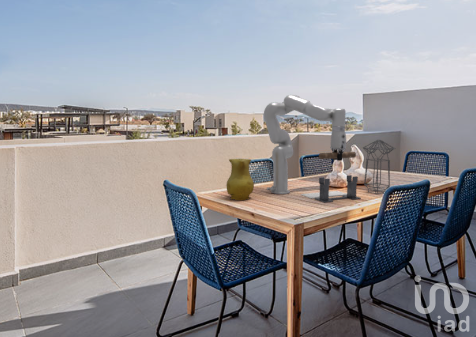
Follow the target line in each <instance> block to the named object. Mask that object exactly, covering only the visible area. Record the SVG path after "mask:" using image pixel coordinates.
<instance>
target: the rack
mask: <svg viewBox="0 0 476 337" xmlns="http://www.w3.org/2000/svg"><path fill="white" fill-rule="evenodd" d="M358 178H359V176H353V175H350V174H349V175H346V182H347V183H346V184H347V186H346V193H347V195H342V196H334V197H329V192H330V188H329V187H330V185H331V179H330V178H325V177H323V176H321V177H318V184H319V192H320V198H314V200H315V201H318V202H322V203H324V204H327V203H333V202H334V201H337V200H346V199H348V200H352V201H354V200H362V198H361V197H360V196H357V186H358V185H357V183H358V181H359V180H358Z"/></svg>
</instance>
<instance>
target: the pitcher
mask: <svg viewBox="0 0 476 337" xmlns="http://www.w3.org/2000/svg"><path fill="white" fill-rule="evenodd" d="M251 161H252V159H250V158H229V159H228V162H230V166H231V171H230V175H229V177H228V178H227V181H226V185H225V186H226V192H227V194H228V195H229V196H230V198H231V199H230V198H229V199H230V200H232V199H235V200H234V201H247V200H250V199H249V198H250V195H251V194H252V193H253V192H254V187H255V183H254V180H253V178H252V176H251V173H250V163H251ZM246 199H247V200H246Z"/></svg>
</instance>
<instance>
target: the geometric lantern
mask: <svg viewBox="0 0 476 337" xmlns="http://www.w3.org/2000/svg"><path fill="white" fill-rule="evenodd" d="M362 149H363V150H364V151H365V152H366V153H367V156H366V157H367V158H366V161H365V162H366V163H365V170H364V171H365V173H364V184H363V186H365V188H367V192H368V193H370V194H375V195H380V194H382V193H384V191H386V190H388V189H389V188H390V186H391V185H390V184H391V179H390V177H391V174H390V170H391V169H390V168H391V167H390V165H391V164H390V163H391V162H390V161H391V160H390V158H389V154H390V153H391V152H392V151H394V150H396V148H395V147H394V146H392V145H390V143H389V144H388V142H385V141H383V140H382V139H376V140H375V141H373V142H371V143H369V144H367V145H365V146H363V147H362ZM371 150H372V151H371ZM377 150H378V151H379V152H380V153H381V155H380V156H379V157H378V156H377V155H376V153H375V152H377ZM372 153H373V154H372ZM370 155H371V156H372V158H370ZM374 155H375V157H376V158H374ZM385 155H386V156H387V159H383V158H384V156H385ZM380 157H381V158H380ZM369 161H373V163H374V164H373V175H372V176H373V177H372V183H371V185H370V183H366V182H367V181H366V180H367V174H368V173H367V172H368V166H369ZM382 161H384V162H387V169H388V170H387V173H388V174H387V175H388V184H384V183H382V180H381V179H382ZM379 162H380V167H379ZM375 170H376V177H375ZM379 170H380V171H379ZM374 185H376V186H374ZM380 185H381V186H380ZM378 192H379V193H378Z"/></svg>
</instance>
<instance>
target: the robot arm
mask: <svg viewBox="0 0 476 337" xmlns="http://www.w3.org/2000/svg"><path fill="white" fill-rule="evenodd" d="M294 111H296V112H298V113H301V114H303V115H305V116H308V117H310V118H311V119H314V120H317V121H320V122H331V135H330V150H331V151H332V152H331V153H335V152H338V154H337V158H335V159H332V160H333V161H343V158H342V154H343V152H346V149H347V133H346V112H347V111H346V109H345V108H334V109H333V108H323V107H321V106H318V105H315V104H313V103H311V101H310V100H307V99H304V98H302V97H300V96H299V95H296V94H288V95H286V96H285V97H284V99H283V102H276V101H275V102H270V103H268V104H267V105H266V106H265V107H264V110H263V119H264V122H265V125H266V129H267V133H268V137H269V139H270V142H271V143H272V144H274V145H276V146H274V147H273V149H272V152H271V155H272V162H273V163H272V165H273V166H272V167H273V174H272V175H273V181H272V183H273V185H271V187H269V186H267V187H266V191H270V192H271V194H276V195H287V194H290V193H291V191H290V190H289V189H288V188H289V187H288V182H289V176H288V175H289V173H288V171H289V169H288V168H289V167H288V166H289V164H288V160H287V159H291V157H293V155H294V148H293V143H292V140H291V137H290V134H289V132H288V131H287V130H285V129H282V128H281V125H280V122H279V120H278V118H277V116H279V117H280V116H285V115H287V114H289V113H292V112H294Z"/></svg>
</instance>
